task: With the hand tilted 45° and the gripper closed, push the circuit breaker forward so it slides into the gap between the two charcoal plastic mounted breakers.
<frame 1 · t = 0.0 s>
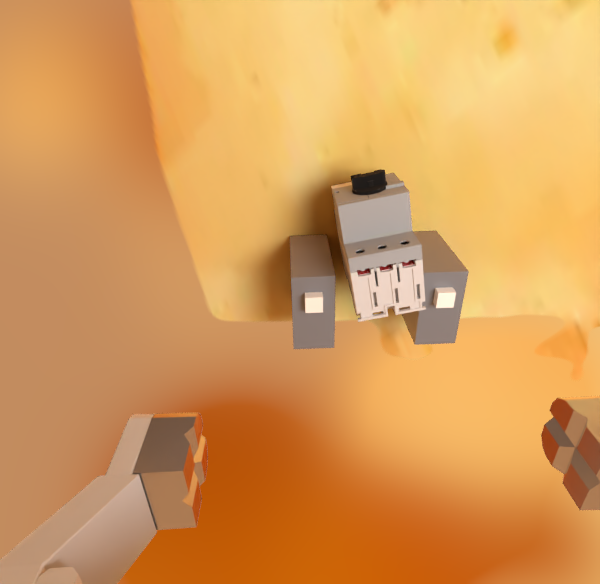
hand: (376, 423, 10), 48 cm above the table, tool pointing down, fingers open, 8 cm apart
circuit breaker: (362, 210, 58), on the table
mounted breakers: (361, 266, 62), on the table
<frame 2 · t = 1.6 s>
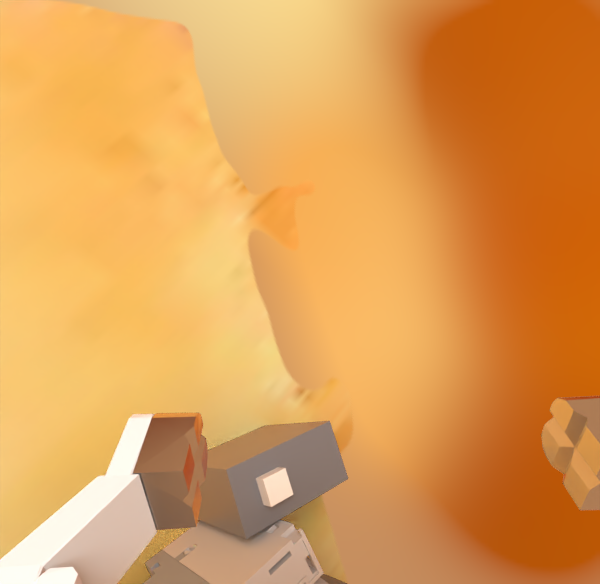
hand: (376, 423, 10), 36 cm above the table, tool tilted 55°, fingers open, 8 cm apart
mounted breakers: (252, 543, 43), on the table
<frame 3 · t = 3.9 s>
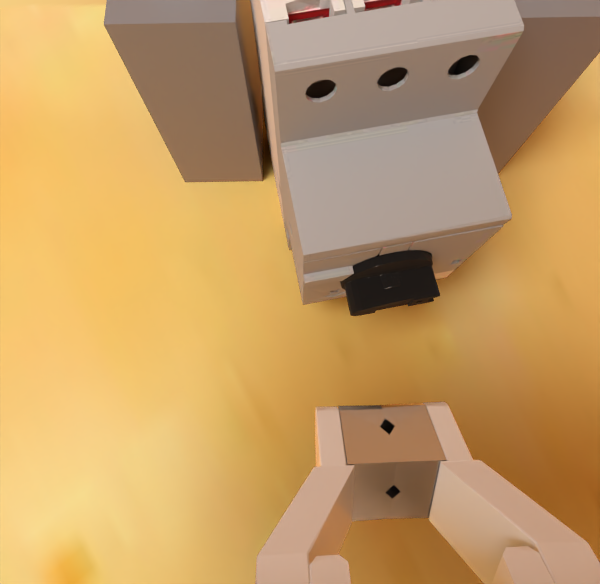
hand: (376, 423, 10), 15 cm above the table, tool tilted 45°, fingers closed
circuit breaker: (344, 226, 28), on the table
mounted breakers: (337, 112, 30), on the table
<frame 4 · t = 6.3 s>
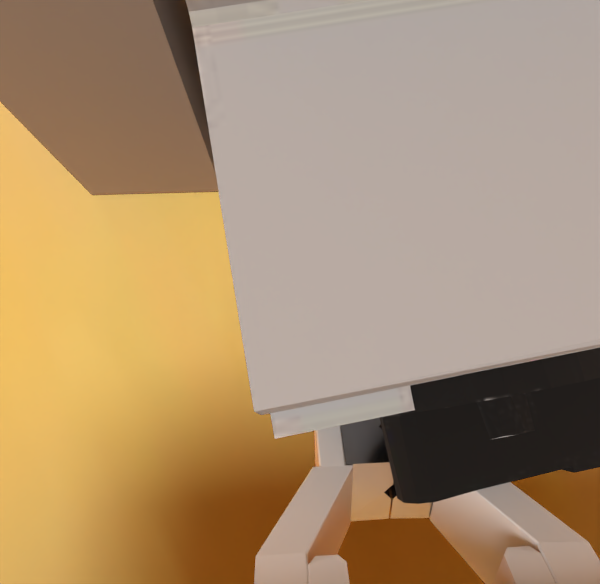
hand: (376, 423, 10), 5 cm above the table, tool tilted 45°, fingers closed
circuit breaker: (359, 244, 17), on the table, touching gripper
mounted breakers: (344, 78, 18), on the table
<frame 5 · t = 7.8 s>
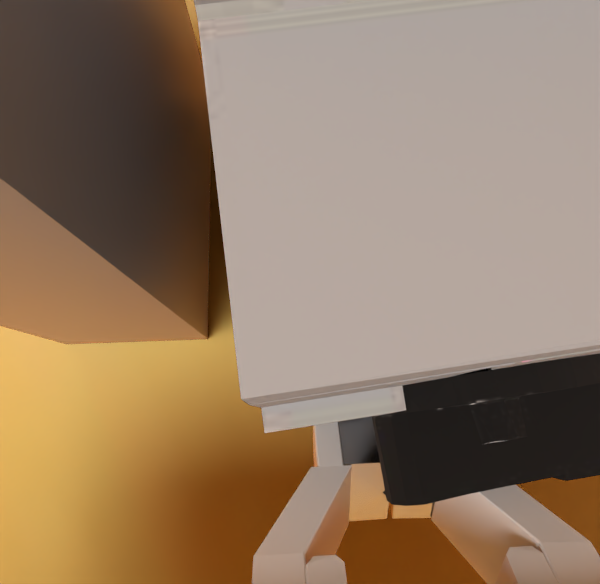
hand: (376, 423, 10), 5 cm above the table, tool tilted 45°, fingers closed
circuit breaker: (361, 248, 17), on the table, touching gripper
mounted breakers: (339, 205, 17), on the table
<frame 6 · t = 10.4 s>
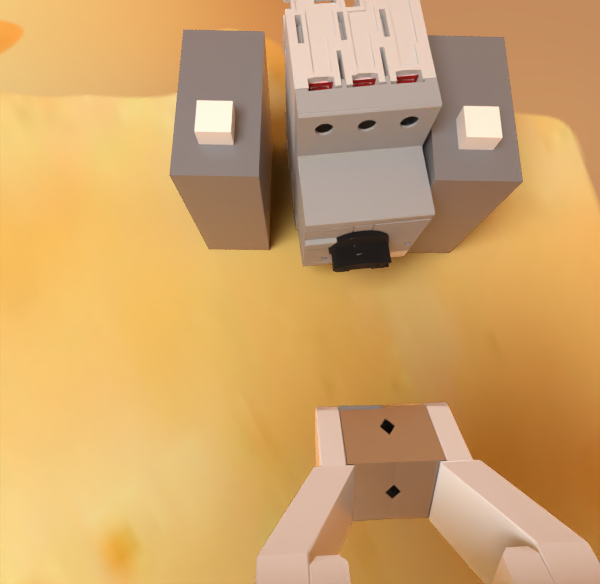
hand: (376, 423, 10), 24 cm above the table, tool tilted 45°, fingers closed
circuit breaker: (338, 216, 37), on the table
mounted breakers: (329, 196, 38), on the table
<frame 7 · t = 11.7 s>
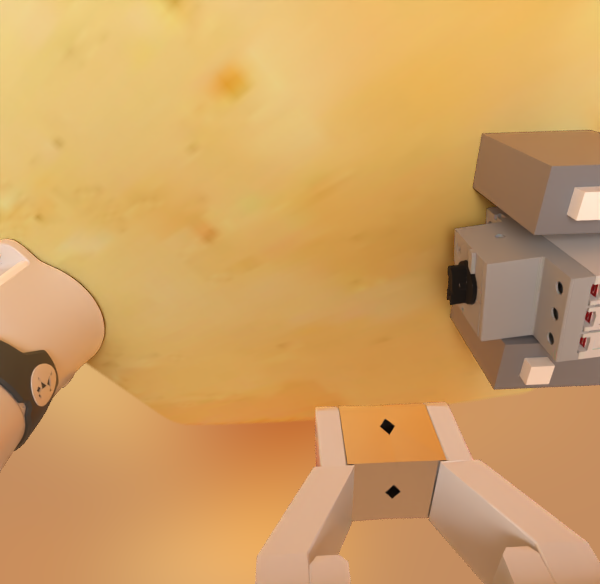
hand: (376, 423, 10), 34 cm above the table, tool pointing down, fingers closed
circuit breaker: (493, 240, 46), on the table
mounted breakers: (512, 233, 45), on the table
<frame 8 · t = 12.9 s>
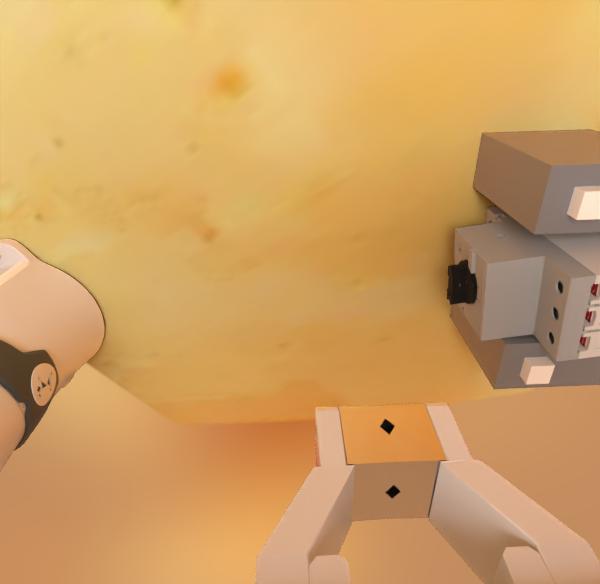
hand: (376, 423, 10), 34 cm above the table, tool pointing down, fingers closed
circuit breaker: (493, 239, 46), on the table
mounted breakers: (512, 233, 45), on the table
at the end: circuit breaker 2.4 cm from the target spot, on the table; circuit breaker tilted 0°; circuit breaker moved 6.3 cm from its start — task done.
